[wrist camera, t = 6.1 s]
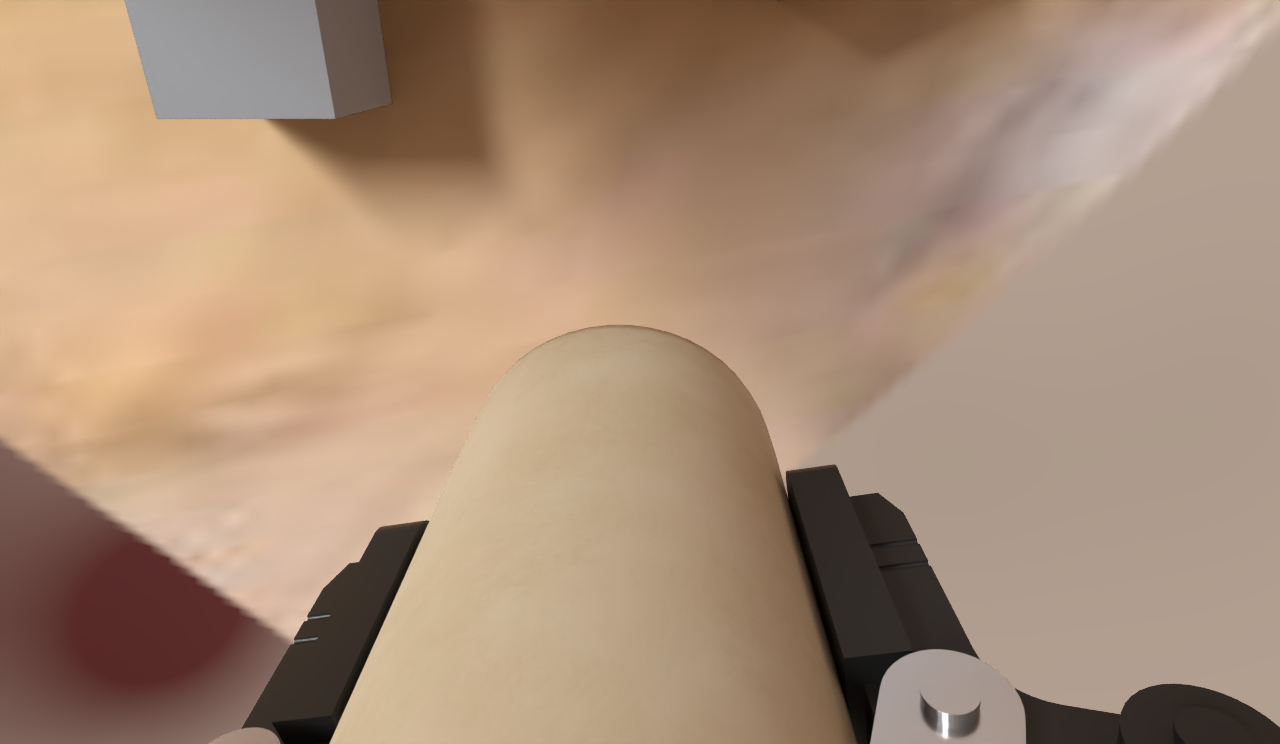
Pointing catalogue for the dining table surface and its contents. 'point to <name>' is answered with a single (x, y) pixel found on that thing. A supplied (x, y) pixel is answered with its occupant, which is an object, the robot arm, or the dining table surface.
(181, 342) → the dining table surface
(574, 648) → the candle
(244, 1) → the slate block
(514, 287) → the dining table surface
